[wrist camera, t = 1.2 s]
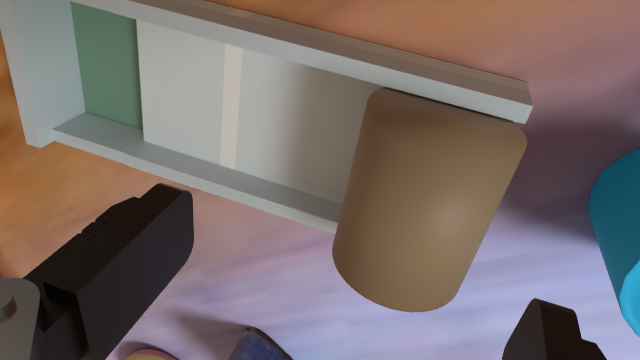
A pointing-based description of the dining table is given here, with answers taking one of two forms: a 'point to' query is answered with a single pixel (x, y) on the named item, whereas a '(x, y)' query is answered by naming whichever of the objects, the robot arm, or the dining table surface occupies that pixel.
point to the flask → (257, 347)
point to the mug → (620, 231)
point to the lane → (294, 131)
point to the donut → (149, 355)
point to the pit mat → (108, 64)
